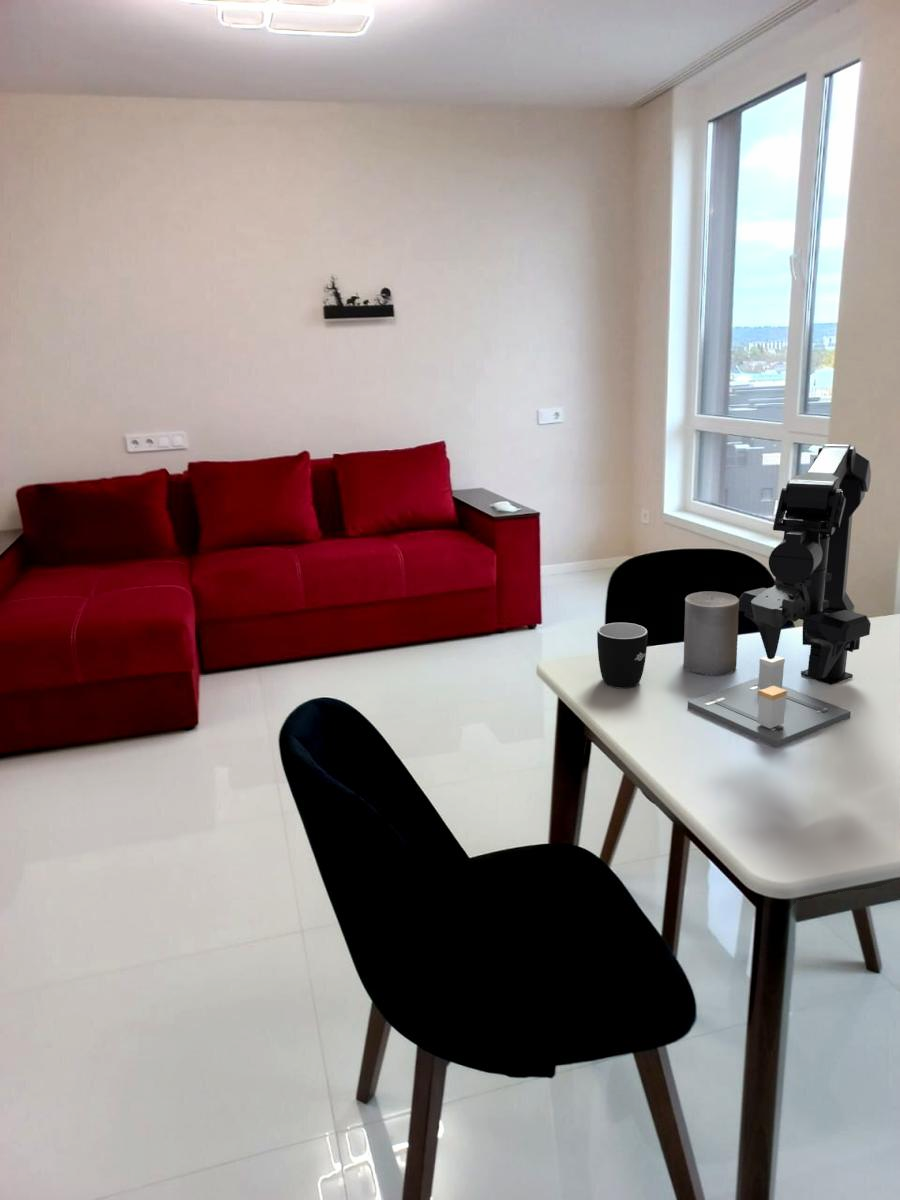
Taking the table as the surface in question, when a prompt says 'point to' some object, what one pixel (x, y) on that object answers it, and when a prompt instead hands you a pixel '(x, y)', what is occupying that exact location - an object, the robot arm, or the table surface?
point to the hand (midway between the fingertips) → (796, 667)
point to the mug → (622, 653)
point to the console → (742, 713)
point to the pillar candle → (711, 633)
